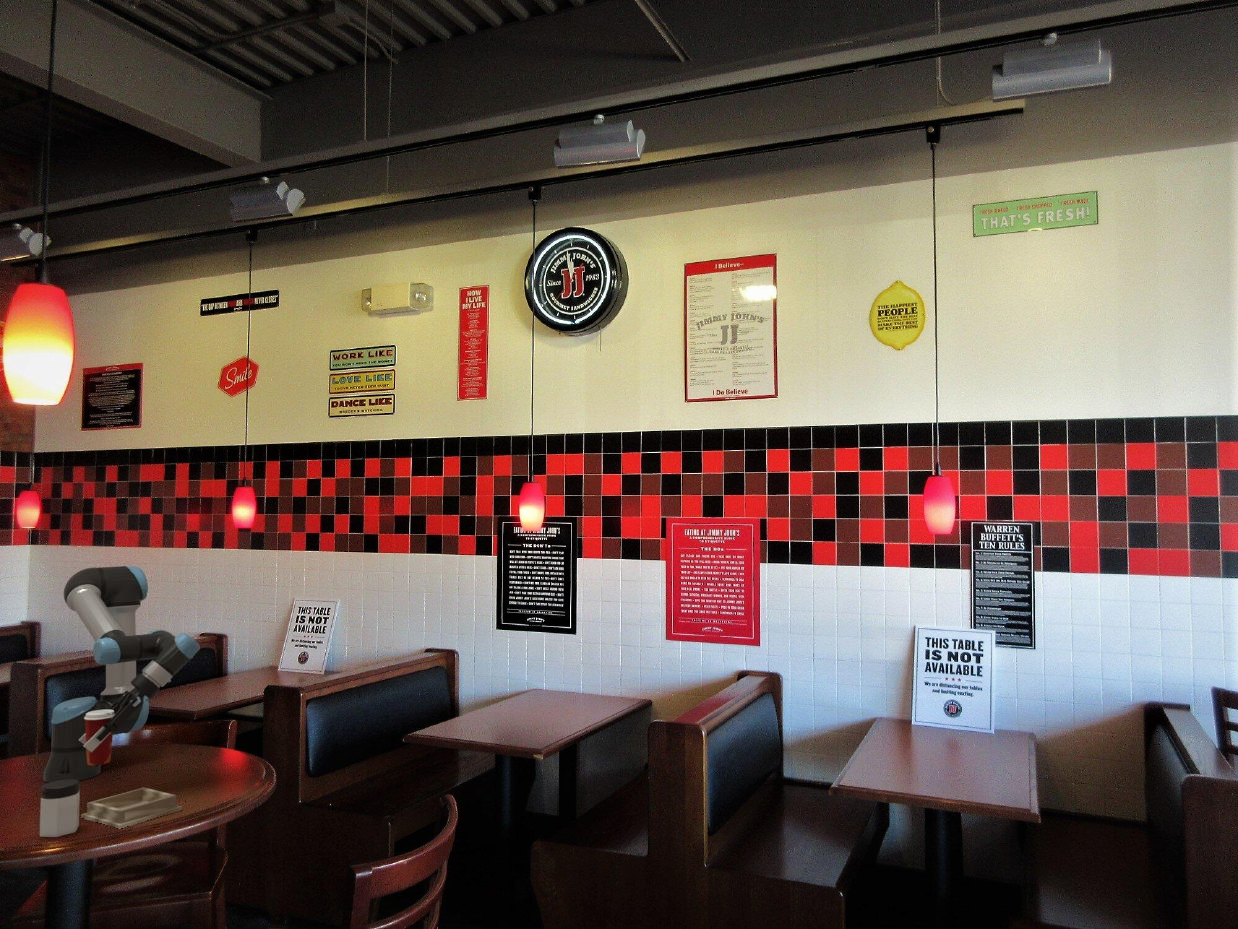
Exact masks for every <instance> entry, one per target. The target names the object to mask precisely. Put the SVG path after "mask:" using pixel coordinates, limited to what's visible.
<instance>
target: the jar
mask: <svg viewBox="0 0 1238 929" xmlns="http://www.w3.org/2000/svg"><path fill="white" fill-rule="evenodd" d="M40 795H41V798H40V812H39V813H40V816H39V837H40V838H58V837H63V836H67V835H71V834H74V833H76V832H77V831H78V828H79V827H80V825H79V824H80V799H81V798H80V797H81V796H80V795H81V790H80V780H79V781H78V780H74V779H68V780H59V781H54V782H50V783H49V782H46V783H45V784H43V785H42V786H41V794H40Z"/></svg>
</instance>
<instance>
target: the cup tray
mask: <svg viewBox="0 0 1238 929" xmlns="http://www.w3.org/2000/svg"><path fill="white" fill-rule="evenodd" d="M177 796H178V795H176V794H173V793H172V794H171V793H169V792H164V791H160V790H156V789H153V788H152V789H151V788H148V787H139V788H136V789H133V790H130V791H125V792H122V793H118V794H115V795H111V796H108V797H104V798H100V799H95V800H93V801H90V802H87V804H86V807H87V808H86V811H87V812H85V813H82V814H81V815H80V816H81V817H80V818H81V819H82V818H84V819H83V820H85V821H89V820H90V822H92V821H93V822H94V823H96V822H98V823H97V824H99V823H102V824H101V825H103V824H105V825H104V826H106V825H109V826H108V827H110V826H113V827H115V828H114V829H116V828H118V830H122V829H121V828H123V829H126V828H128V827H127V826H129V827H132V826H135V825H139V824H141V822H142V823H146V822H148V821H147V820H149V821H151V820H150V819H152V820H154V819H153V818H155V819H157V818H156V817H159V818H161V817H160V816H162V817H164V816H163V815H165V816H167V814H168V815H170V814H169V813H172V814H174V813H177V812H181V811H182V810H183V806H181V805H178V804H177V801H178V798H177ZM138 823H139V824H138ZM113 827H112V828H113ZM125 827H126V828H125Z"/></svg>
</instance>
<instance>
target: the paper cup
mask: <svg viewBox="0 0 1238 929" xmlns="http://www.w3.org/2000/svg"><path fill="white" fill-rule="evenodd" d="M114 715H115V714H114V710H96V711H91V712H88V713H86V716H85V717H84V719H85V724H86V743H87V742H88V741H89V740H90V739H91V738H92V737H93V736H94V735H95V734H96V733H97V732H98V731H99V730H100V729H101V728H102V727H103V726H102V725H103V724H107V723H108V722H109V721H110V720H111V718H112V717H113V716H114ZM104 728H105V727H104ZM113 737H114V735H113V732H112V733H110V734H109V735H108V736H107V737H106V738H105V739H104V740H103V741H102V742H101V743H100V744H99V745H98V746H97V747H96V748H95V749H94V750H93V751H92V752H90V751H89V750H88V749H86V752H87V764H88V765H101V766H102V765H105V764H109V763H110V762H111V758H112V746H113Z"/></svg>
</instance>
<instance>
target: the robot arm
mask: <svg viewBox="0 0 1238 929" xmlns="http://www.w3.org/2000/svg"><path fill="white" fill-rule="evenodd" d="M148 593H149V585H148V581H147V577H146V574H145V573H144V571H143V569H141V568H140V567H139V566H135V565H133V566H132V565H130V566H129V565H123V566H107V567H106V566H105V567H88V568H84V569H82V570H79V571H77V572H76V573H75V574H73V575H72V576H71V577H70V578H69V579H68V580H67V582H66V584H65V586H64V588H63V598H64V602H65V604H66V605H67V607H68V609H70V610H71V611H73V612H76V614H77V615H78V617H79V619H80V620H81V622H82V623H83V625H84V626H85V628H86V630H87V631H88V633H89V634H90V636H91V637H92V639H93V640H94V644H93V649H92V650H93V651H92V652H93V653H92V654H93V657H94V661H95V663H96V664H98V665H105V689H104V690H103V691H102V692H101V693H100V699H99V700H97V698H96V697H95V696H85V697H84V696H83V697H76V698H72V699H69V700H65V701H63V702H60V703H58V704H57V705H56V706H55V707H54V708H53V710H52V717H51V721H50V723H51V747H50V750H51V751H50V756H49V758H48V761H47V763H46V767H45V769H44V771H43V781H44V782H46V783H50V782H54V781H59V780H68V779H74V780H78V781H79V782H80V781H83V780H87V779H91V778H94V777H97V776H98V775H99V774H101V770H102V768H101V766H102V764H101V765H88V764H87V752H86V749H88V750H89V751H90V752H92V751H93V750H94V749H95V748H96V747H97V746H98V745H99V744H100V743H101V742H102V741H103V740H104V739H105V738H106V737H107V736H108V735H109V734H110V733H112V732H113V736H115V735H121V734H129V733H131V732H132V733H133V732H137V731H139V730H141V729H142V728H143V727H144V725H145V724H146V723H147V719H148V718H149V717H148V716H149V713H150V702H149V699H150V700H151V699H153V697H155V696H156V695H157V694H158V692H159V691H160V690H161V689H160V687H161V688H163V687H164V686H166V684H167V683H168V684H170V683H171V682H172V680H171V679H172V678H173V677H174V676H176V675H177V673H179V672H180V670H181V669H182V668H184V666H185V665H187V664H188V662H190V661H191V660H193V658H194V656H195V655H196V654H197V653H198V652H199V651H200V649H201V647H200V644H199V642H197V641H196V640H195V639H194V638H193V637H191V636H190V635H189V634H187V633H186V632H180V633H179V634H178V635H176V636H175V635H173V634H172V633H171V632H169V631H166V630H165V629H158V628H157V629H154V630H151V631H150V632H148V633H146V634H137V633H136V632H137V626H136V623H137V621H136V611H137V610H138V609H139V608H140V607H141V604H142V603H141V602H142V601H145V600H146V599H147V596H148ZM146 660H151V661H150V662H149V663H148V664H147V665H146V666H145V667H144V668H143V669H142V670H141V671H142V673H138V674H137V661H146ZM96 710H114V714H115V715H114V716H113V717H112V718H111V720H110V721H109V722H108V723H107V724H103V725H102V726H103V727H102V728H101V729H100V730H99V731H98V732H97V733H96V734H95V735H94V736H93V737H92V738H91V739H90V740H89V741H88V742H87V743H86V724H85V719H84V717H85V716H86V713H88V712H91V711H96ZM104 727H105V728H104Z"/></svg>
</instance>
